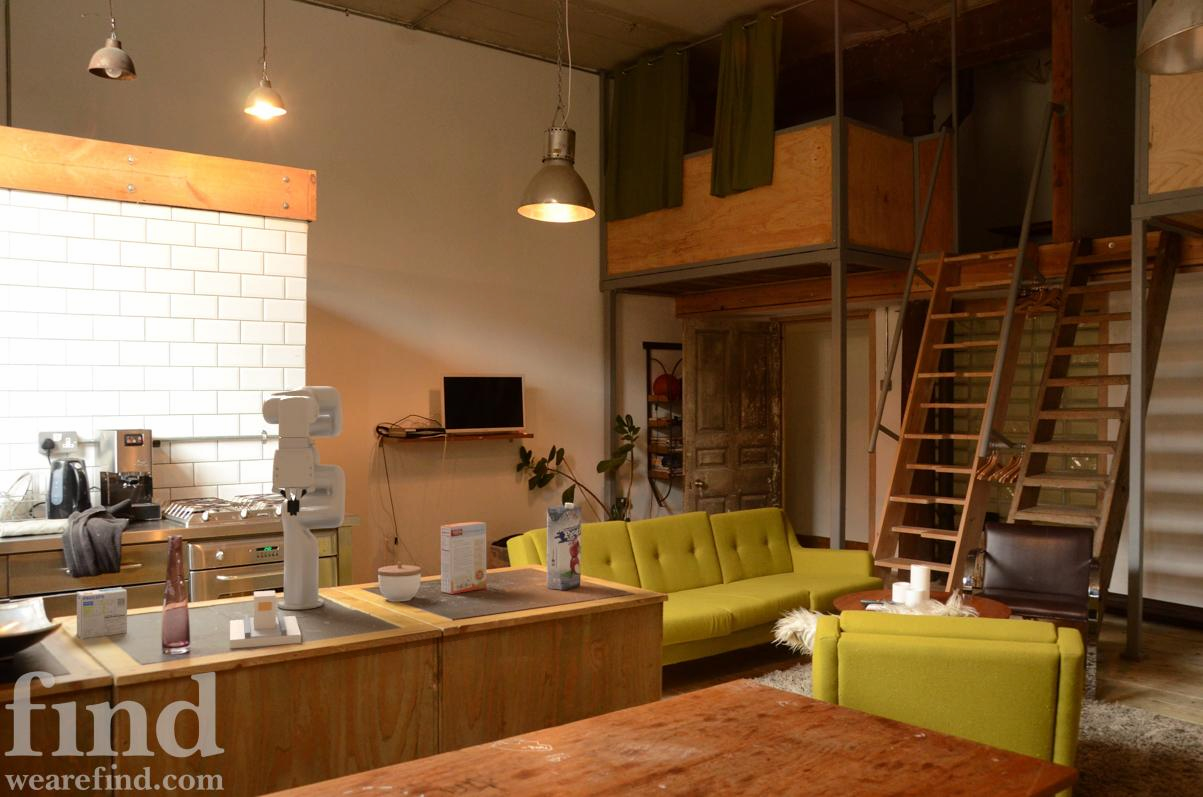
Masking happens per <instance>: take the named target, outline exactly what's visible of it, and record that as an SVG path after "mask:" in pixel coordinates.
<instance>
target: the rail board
mask: <svg viewBox="0 0 1203 797" xmlns="http://www.w3.org/2000/svg"><path fill="white" fill-rule="evenodd" d="M301 643H302V634H301V631H300V627H299V624H298V620H297V618H296V616H295V615H292V616H291V615H289V616H284V614H283V611H277V612H276V628H268V629H255V630H254V616H253V617H250V615H249V613H244V614H243V619H234V620H233V619H232V620H230V621H229V649H239V648H242V649H243V648H252V647H253V648H255V647H266V646H278V645H288V644H290V645H291V644H301Z"/></svg>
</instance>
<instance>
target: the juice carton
mask: <svg viewBox="0 0 1203 797" xmlns="http://www.w3.org/2000/svg"><path fill="white" fill-rule="evenodd" d="M581 551H582V507H581V506H577V505H575V504H574V503H572V502H565V503H564V505H559V506H554V507H553V506H552V507H551V506H549V507H548V506H547V507H546V586H547V589H551V590H559V591H568V590H571V589H575V588H578V587H580V586H581V576H582V575H581V574H582V573H581V572H582V570H581V569H582V565H581V563H582V561H581V560H582V558H581V557H582V556H581V555H582V552H581Z"/></svg>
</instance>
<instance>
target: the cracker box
mask: <svg viewBox="0 0 1203 797" xmlns="http://www.w3.org/2000/svg"><path fill="white" fill-rule="evenodd" d="M484 589H487V522H481V521H469V522H459V523H458V522H457V523H450V524H443V525H440V592H441V593H444V594H450V595H455V594H460V593H461V592H462V593H466V592H472V591H478V590H484ZM462 593H461V594H462Z"/></svg>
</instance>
